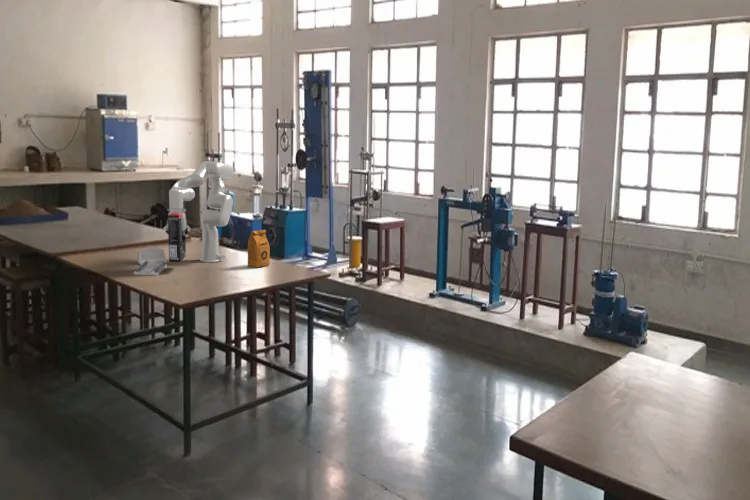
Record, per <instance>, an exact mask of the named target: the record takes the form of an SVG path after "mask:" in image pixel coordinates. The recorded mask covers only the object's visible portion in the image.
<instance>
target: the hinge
mask: <svg viewBox="0 0 750 500" xmlns="http://www.w3.org/2000/svg"><path fill="white" fill-rule="evenodd" d="M145 261H148V264H151V263H160V264H161V263H162V262H163V261H165V264H166V263H168V260H167V258H166V253H165V250H164V249H162V248H159V247H148V248H143V249H141V250H138V252H137V264H139V266H140V265H141V264H142V263H144V262H145Z"/></svg>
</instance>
